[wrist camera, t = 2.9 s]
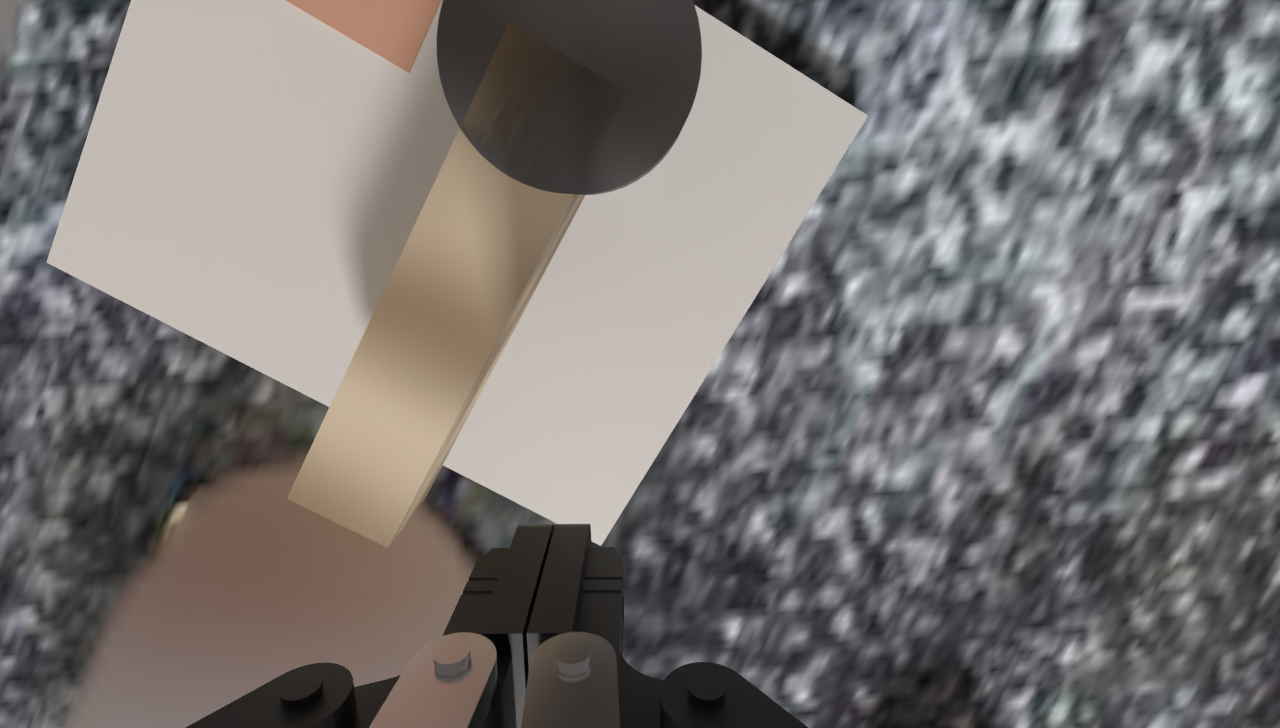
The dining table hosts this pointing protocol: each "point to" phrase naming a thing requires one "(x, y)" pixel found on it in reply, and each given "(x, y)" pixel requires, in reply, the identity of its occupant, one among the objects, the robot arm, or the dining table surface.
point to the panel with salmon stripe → (391, 203)
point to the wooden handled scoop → (495, 226)
